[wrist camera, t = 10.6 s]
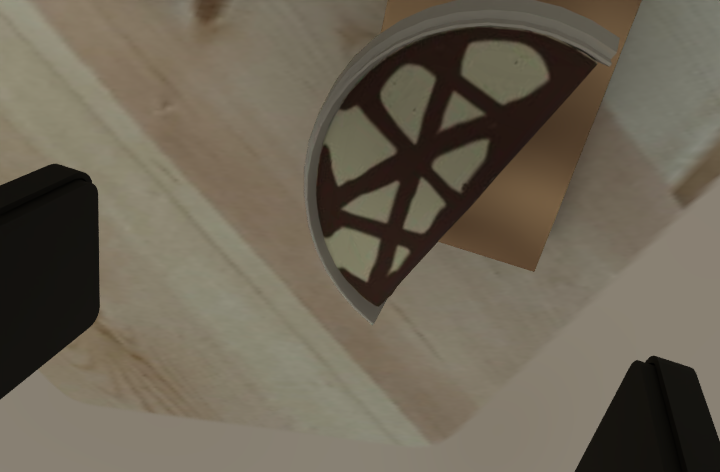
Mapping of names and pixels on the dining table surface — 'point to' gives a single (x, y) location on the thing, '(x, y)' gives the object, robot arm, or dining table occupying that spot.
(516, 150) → the food container
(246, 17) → the dining table surface
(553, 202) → the plinth
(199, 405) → the dining table surface
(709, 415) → the robot arm
